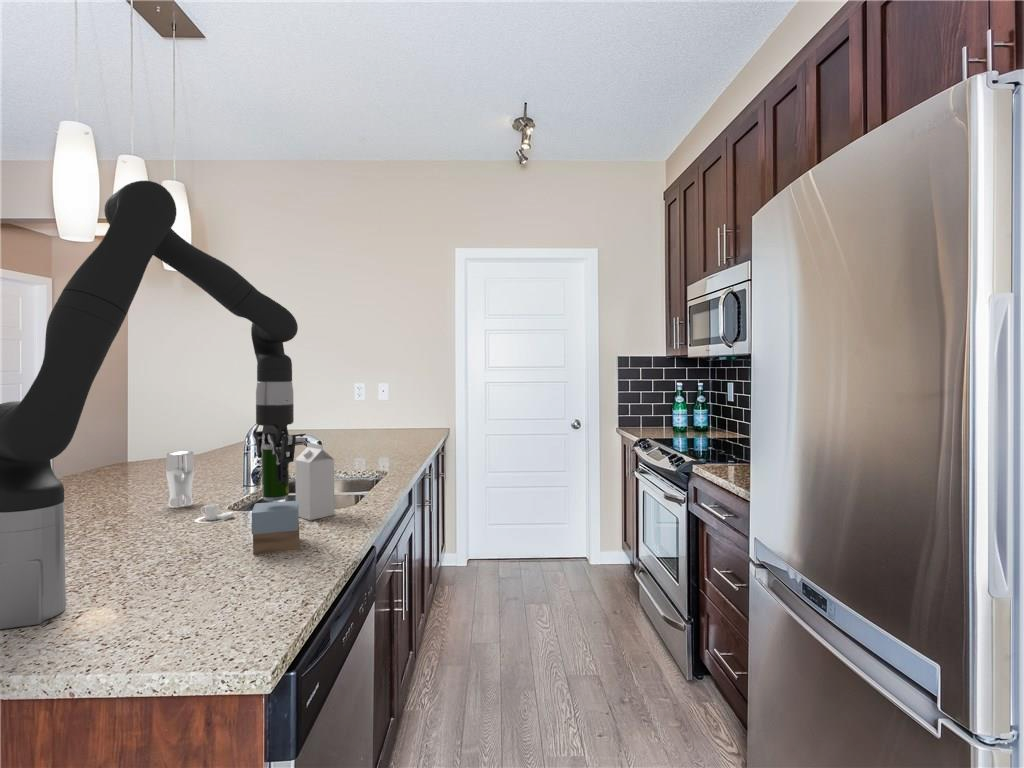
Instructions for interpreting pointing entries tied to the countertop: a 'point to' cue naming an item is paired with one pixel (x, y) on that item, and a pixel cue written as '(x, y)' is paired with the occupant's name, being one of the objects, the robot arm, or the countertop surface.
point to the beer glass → (180, 478)
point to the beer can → (272, 477)
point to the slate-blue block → (275, 517)
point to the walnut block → (276, 542)
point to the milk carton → (315, 483)
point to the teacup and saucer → (214, 514)
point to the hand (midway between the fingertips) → (275, 480)
